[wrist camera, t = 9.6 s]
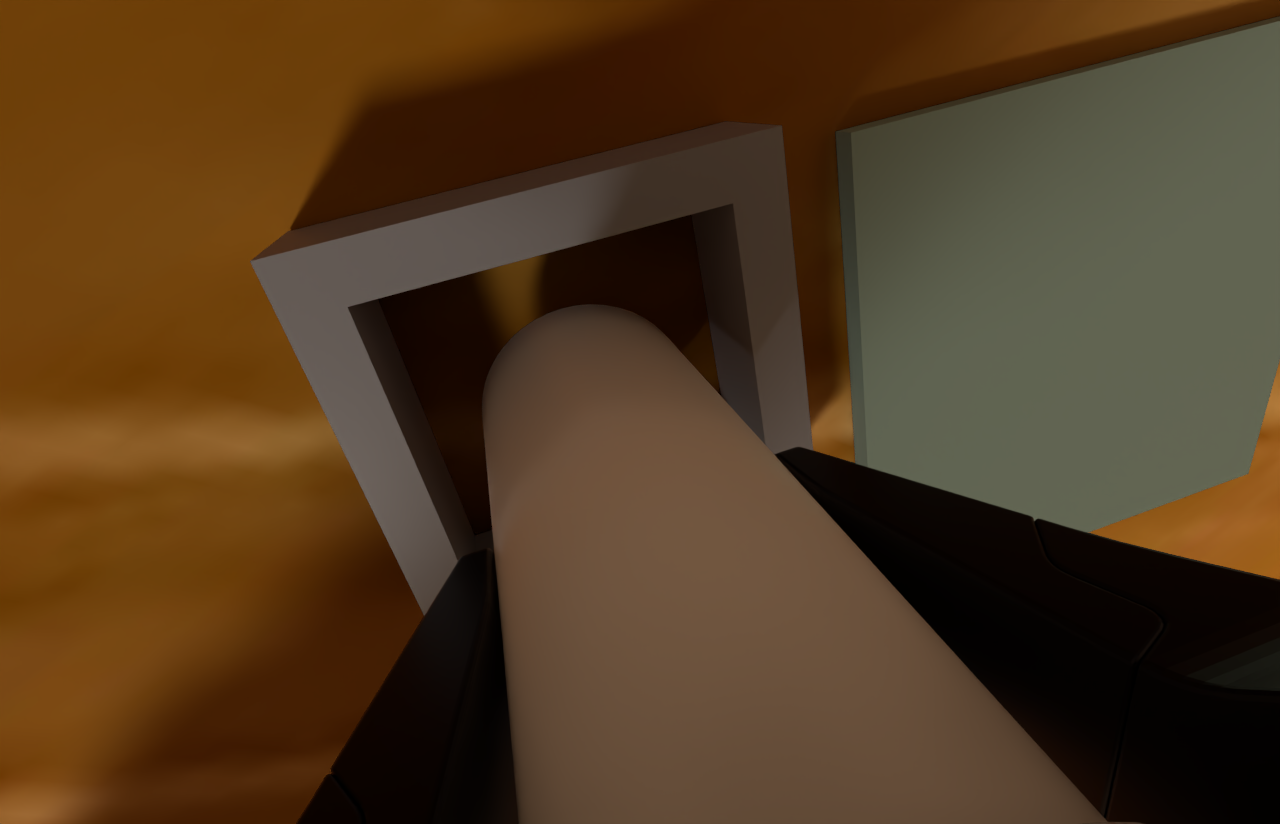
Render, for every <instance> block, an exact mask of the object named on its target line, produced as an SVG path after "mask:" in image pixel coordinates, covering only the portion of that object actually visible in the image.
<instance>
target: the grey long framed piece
mask: <svg viewBox="0 0 1280 824" xmlns="http://www.w3.org/2000/svg"><path fill="white" fill-rule="evenodd" d="M687 215H691V216H692V222H693V228H694V234H695V240H696V246H697V253H698V259H699V265H700V271H701V277H702V283H703V289H704V295H705V301H706V307H707V313H708V319H709V325H710V331H711V337H712V343H713V349H714V355H715V361H716V368H717V374H718V380H719V386H720V392H721V397H722V398H723V399H724V400H725V401H726V402H727V403H728V404H729V406H730V407H731V408H732V409H733V410H734V411H735V412H736V413H737V414H738V415H739V417H740V418H741V419H742V420H743V421H744V422H745V423H746V424H747V425H748V426H749V428H750V429H751V430H752V431H753V432H754V433H755V434H756V435H757V436H758V437H759V439H760V440H761V441H762V442H763V443H764V444H765V445H766V446H767V447H768V448H769V450H770V451H771V452H772V453H773V454H776V453H779V452H782V451H785V450H788V449H791V448H794V447H803V448H806V449H810V450H813V445H812V435H811V424H810V414H809V404H808V393H807V383H806V372H805V362H804V351H803V341H802V330H801V320H800V309H799V299H798V288H797V278H796V267H795V257H794V247H793V236H792V226H791V215H790V205H789V194H788V184H787V173H786V163H785V152H784V142H783V131H782V125H770V124H756V123H742V122H729V121H725V122H721V123H717V124H713V125H709V126H705V127H701V128H697V129H693V130H689V131H685V132H681V133H677V134H673V135H670V136H666V137H662V138H658V139H654V140H650V141H646V142H642V143H638V144H634V145H630V146H626V147H622V148H618V149H614V150H610V151H606V152H602V153H598V154H594V155H590V156H586V157H582V158H578V159H574V160H570V161H566V162H562V163H558V164H554V165H550V166H546V167H542V168H538V169H534V170H530V171H526V172H522V173H518V174H514V175H510V176H506V177H502V178H499V179H495V180H491V181H487V182H483V183H479V184H475V185H471V186H467V187H463V188H459V189H455V190H451V191H447V192H443V193H439V194H435V195H431V196H427V197H423V198H419V199H415V200H411V201H407V202H403V203H399V204H395V205H391V206H387V207H383V208H379V209H375V210H371V211H367V212H363V213H359V214H355V215H351V216H347V217H343V218H339V219H335V220H331V221H328V222H324V223H320V224H316V225H312V226H308V227H304V228H300V229H296V230H292V231H288V232H287V233H285V234H284V235H283V236H282V237H280V238H279V239H278V240H276V241H275V242H274V243H273V244H271V245H270V246H269V247H268V248H266V249H265V250H264V251H262V252H261V253H260V254H259V255H257V256H256V257H255V258H254V259H252V260H251V261H250V262H251V264H252V266H253V268H254V270H255V272H256V274H257V276H258V278H259V280H260V282H261V284H262V286H263V288H264V290H265V293H266V295H267V297H268V299H269V301H270V303H271V305H272V307H273V309H274V311H275V313H276V315H277V317H278V319H279V321H280V323H281V325H282V327H283V329H284V331H285V333H286V335H287V337H288V339H289V341H290V343H291V345H292V347H293V350H294V352H295V354H296V356H297V358H298V360H299V362H300V364H301V366H302V368H303V370H304V372H305V374H306V376H307V378H308V380H309V382H310V384H311V386H312V388H313V390H314V392H315V394H316V396H317V398H318V400H319V402H320V404H321V407H322V409H323V411H324V413H325V415H326V417H327V419H328V421H329V423H330V425H331V427H332V429H333V431H334V433H335V435H336V437H337V439H338V441H339V443H340V445H341V447H342V449H343V451H344V453H345V455H346V457H347V459H348V461H349V464H350V466H351V468H352V470H353V472H354V474H355V476H356V478H357V480H358V482H359V484H360V486H361V488H362V490H363V492H364V494H365V496H366V498H367V500H368V502H369V504H370V506H371V508H372V510H373V512H374V514H375V516H376V518H377V521H378V523H379V525H380V527H381V529H382V531H383V533H384V535H385V537H386V539H387V541H388V543H389V545H390V547H391V549H392V551H393V553H394V555H395V557H396V559H397V561H398V563H399V565H400V567H401V569H402V571H403V573H404V575H405V578H406V580H407V582H408V584H409V586H410V588H411V590H412V592H413V594H414V596H415V598H416V600H417V602H418V604H419V606H420V608H421V610H422V612H423V614H424V615H425V614H426V612H427V611H428V609H429V607H430V606H431V604H432V602H433V601H434V599H435V598H436V596H437V594H438V593H439V591H440V589H441V588H442V586H443V584H444V583H445V581H446V580H447V578H448V576H449V575H450V573H451V571H452V570H453V568H454V567H455V565H456V563H457V562H458V560H459V559H460V558H461V557H462V556H464V555H466V554H469V553H473V552H476V551H479V550H482V549H485V548H490V549H491V550H492V551H493V552H494V543H493V532H492V530H490V531H487V532H484V533H481V534H478V535H474V532H473V530H472V527H471V525H470V523H469V520H468V518H467V515H466V513H465V510H464V508H463V506H462V503H461V501H460V498H459V496H458V493H457V491H456V488H455V486H454V484H453V481H452V479H451V476H450V474H449V471H448V469H447V466H446V464H445V462H444V459H443V457H442V454H441V452H440V449H439V447H438V445H437V442H436V440H435V437H434V435H433V432H432V430H431V427H430V425H429V423H428V420H427V418H426V415H425V413H424V410H423V408H422V405H421V403H420V401H419V398H418V396H417V393H416V391H415V388H414V386H413V383H412V381H411V379H410V376H409V374H408V371H407V369H406V366H405V364H404V362H403V359H402V357H401V354H400V352H399V349H398V347H397V344H396V342H395V340H394V337H393V335H392V332H391V330H390V327H389V325H388V322H387V320H386V318H385V315H384V313H383V310H382V308H381V305H380V303H379V300H378V299H379V298H383V297H387V296H390V295H394V294H398V293H401V292H405V291H409V290H413V289H416V288H420V287H424V286H427V285H431V284H435V283H439V282H442V281H446V280H450V279H453V278H457V277H461V276H465V275H468V274H472V273H476V272H479V271H483V270H487V269H491V268H494V267H498V266H502V265H505V264H509V263H513V262H517V261H520V260H524V259H528V258H531V257H535V256H539V255H543V254H546V253H550V252H554V251H557V250H561V249H565V248H569V247H572V246H576V245H580V244H583V243H587V242H591V241H595V240H598V239H602V238H606V237H609V236H613V235H617V234H621V233H624V232H628V231H632V230H635V229H639V228H643V227H647V226H650V225H654V224H658V223H661V222H665V221H669V220H673V219H676V218H680V217H684V216H687Z"/></svg>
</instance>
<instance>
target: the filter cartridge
mask: <svg viewBox="0 0 1280 824" xmlns="http://www.w3.org/2000/svg"><path fill="white" fill-rule="evenodd" d="M482 421H483V432H484V443H485V454H486V465H487V476H488V487H489V499H490V510H491V521H492V532H493V543H494V554H495V565H496V577H497V588H498V599H499V610H500V621H501V632H502V643H503V655H504V666H505V677H506V688H507V699H508V710H509V721H510V733H511V744H512V755H513V766H514V777H515V788H516V799H517V810H518V822H519V824H1142V823H1137V822H1107V821H1106V819H1105V818H1104V817H1103V816H1102V815H1101V814H1100V813H1099V812H1098V811H1097V810H1096V808H1095V807H1094V806H1093V805H1092V804H1091V803H1090V802H1089V801H1088V800H1087V798H1086V797H1085V796H1084V795H1083V794H1082V793H1081V792H1080V791H1079V790H1078V789H1077V787H1076V786H1075V785H1074V784H1073V783H1072V782H1071V781H1070V780H1069V779H1068V778H1067V776H1066V775H1065V774H1064V773H1063V772H1062V771H1061V770H1060V769H1059V768H1058V767H1057V765H1056V764H1055V763H1054V762H1053V761H1052V760H1051V759H1050V758H1049V757H1048V756H1047V754H1046V753H1045V752H1044V751H1043V750H1042V749H1041V748H1040V747H1039V746H1038V745H1037V743H1036V742H1035V741H1034V740H1033V739H1032V738H1031V737H1030V736H1029V735H1028V734H1027V732H1026V731H1025V730H1024V729H1023V728H1022V727H1021V726H1020V725H1019V724H1018V723H1017V721H1016V720H1015V719H1014V718H1013V717H1012V716H1011V715H1010V714H1009V713H1008V712H1007V710H1006V709H1005V708H1004V707H1003V706H1002V705H1001V704H1000V703H999V702H998V701H997V699H996V698H995V697H994V696H993V695H992V694H991V693H990V692H989V691H988V690H987V688H986V687H985V686H984V685H983V684H982V683H981V682H980V681H979V680H978V679H977V677H976V676H975V675H974V674H973V673H972V672H971V671H970V670H969V669H968V667H967V666H966V665H965V664H964V663H963V662H962V661H961V660H960V659H959V658H958V656H957V655H956V654H955V653H954V652H953V651H952V650H951V649H950V648H949V647H948V645H947V644H946V643H945V642H944V641H943V640H942V639H941V638H940V637H939V636H938V634H937V633H936V632H935V631H934V630H933V629H932V628H931V627H930V626H929V625H928V623H927V622H926V621H925V620H924V619H923V618H922V617H921V616H920V615H919V614H918V612H917V611H916V610H915V609H914V608H913V607H912V606H911V605H910V604H909V603H908V601H907V600H906V599H905V598H904V597H903V596H902V595H901V594H900V593H899V592H898V590H897V589H896V588H895V587H894V586H893V585H892V584H891V583H890V582H889V581H888V579H887V578H886V577H885V576H884V575H883V574H882V573H881V572H880V571H879V570H878V568H877V567H876V566H875V565H874V564H873V563H872V562H871V561H870V560H869V559H868V557H867V556H866V555H865V554H864V553H863V552H862V551H861V550H860V549H859V548H858V546H857V545H856V544H855V543H854V542H853V541H852V540H851V539H850V538H849V537H848V535H847V534H846V533H845V532H844V531H843V530H842V529H841V528H840V527H839V525H838V524H837V523H836V522H835V521H834V520H833V519H832V518H831V517H830V516H829V514H828V513H827V512H826V511H825V510H824V509H823V508H822V507H821V506H820V505H819V503H818V502H817V501H816V500H815V499H814V498H813V497H812V496H811V495H810V494H809V492H808V491H807V490H806V489H805V488H804V487H803V486H802V485H801V484H800V483H799V481H798V480H797V479H796V478H795V477H794V476H793V475H792V474H791V473H790V472H789V470H788V469H787V468H786V467H785V466H784V465H783V464H782V463H781V462H780V461H779V459H778V458H777V457H776V456H775V455H774V454H773V453H772V452H771V451H770V450H769V448H768V447H767V446H766V445H765V444H764V443H763V442H762V441H761V440H760V439H759V437H758V436H757V435H756V434H755V433H754V432H753V431H752V430H751V429H750V428H749V426H748V425H747V424H746V423H745V422H744V421H743V420H742V419H741V418H740V417H739V415H738V414H737V413H736V412H735V411H734V410H733V409H732V408H731V407H730V406H729V404H728V403H727V402H726V401H725V400H724V399H723V398H722V397H721V396H720V395H719V393H718V392H717V391H716V390H715V389H714V388H713V387H712V386H711V385H710V383H709V382H708V381H707V380H706V379H705V378H704V377H703V376H702V375H701V374H700V372H699V371H698V370H697V369H696V368H695V367H694V366H693V365H692V364H691V363H690V361H689V360H688V359H687V358H686V357H685V356H684V355H683V354H682V353H681V352H680V350H679V349H678V348H677V347H676V346H675V345H674V344H673V343H672V342H671V341H670V339H669V338H668V337H667V336H666V335H665V334H664V333H663V332H662V331H661V330H660V329H659V328H657V327H656V326H655V325H654V324H653V323H651V322H650V321H648V320H647V319H645V318H644V317H642V316H640V315H638V314H635V313H633V312H631V311H628V310H625V309H622V308H619V307H614V306H608V305H597V304H587V305H576V306H571V307H566V308H562V309H559V310H556V311H553V312H550V313H548V314H546V315H544V316H542V317H540V318H538V319H536V320H534V321H532V322H531V323H529V324H528V325H526V326H525V327H523V328H522V329H521V330H520V331H519V332H518V333H516V334H515V335H514V336H513V337H512V338H511V339H510V340H509V341H508V342H507V344H506V345H505V346H504V347H503V348H502V349H501V351H500V353H499V354H498V356H497V357H496V359H495V360H494V362H493V364H492V366H491V368H490V370H489V372H488V375H487V378H486V382H485V385H484V390H483V396H482Z"/></svg>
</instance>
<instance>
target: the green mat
mask: <svg viewBox="0 0 1280 824" xmlns="http://www.w3.org/2000/svg"><path fill="white" fill-rule="evenodd" d="M835 133H836V149H837V166H838V182H839V199H840V215H841V232H842V248H843V265H844V281H845V298H846V315H847V331H848V348H849V364H850V381H851V397H852V414H853V430H854V447H855V463H856V464H860V465H863V466H866V467H870V468H873V469H876V470H880V471H883V472H886V473H889V474H893V475H896V476H899V477H903V478H906V479H909V480H913V481H916V482H919V483H923V484H926V485H929V486H933V487H936V488H939V489H943V490H946V491H949V492H953V493H956V494H959V495H963V496H966V497H969V498H973V499H976V500H979V501H983V502H986V503H989V504H993V505H996V506H999V507H1003V508H1006V509H1009V510H1013V511H1016V512H1019V513H1023V514H1026V515H1029V516H1032V517H1033V519H1034V521H1035V520H1036V519H1038V518H1040V519H1043V520H1047V521H1050V522H1053V523H1057V524H1060V525H1063V526H1066V527H1070V528H1073V529H1077V530H1080V531H1084V532H1087V533H1088V532H1091V531H1093V530H1096V529H1099V528H1102V527H1104V526H1107V525H1110V524H1112V523H1115V522H1118V521H1121V520H1123V519H1126V518H1129V517H1131V516H1134V515H1137V514H1140V513H1142V512H1145V511H1148V510H1151V509H1153V508H1156V507H1159V506H1161V505H1164V504H1167V503H1170V502H1172V501H1175V500H1178V499H1181V498H1183V497H1186V496H1189V495H1191V494H1194V493H1197V492H1200V491H1202V490H1205V489H1208V488H1210V487H1213V486H1216V485H1219V484H1221V483H1224V482H1227V481H1230V480H1232V479H1235V478H1238V477H1240V476H1243V475H1246V474H1248V473H1249V469H1250V465H1251V462H1252V458H1253V454H1254V451H1255V447H1256V444H1257V440H1258V436H1259V433H1260V429H1261V425H1262V422H1263V418H1264V415H1265V411H1266V407H1267V404H1268V400H1269V397H1270V393H1271V389H1272V386H1273V382H1274V378H1275V375H1276V371H1277V368H1278V364H1279V360H1280V16H1278V17H1274V18H1271V19H1267V20H1263V21H1259V22H1255V23H1251V24H1248V25H1244V26H1240V27H1236V28H1232V29H1228V30H1224V31H1221V32H1217V33H1213V34H1209V35H1205V36H1201V37H1197V38H1194V39H1190V40H1186V41H1182V42H1178V43H1174V44H1171V45H1167V46H1163V47H1159V48H1155V49H1151V50H1147V51H1144V52H1140V53H1136V54H1132V55H1128V56H1124V57H1120V58H1117V59H1113V60H1109V61H1105V62H1101V63H1097V64H1093V65H1090V66H1086V67H1082V68H1078V69H1074V70H1070V71H1067V72H1063V73H1059V74H1055V75H1051V76H1047V77H1043V78H1040V79H1036V80H1032V81H1028V82H1024V83H1020V84H1016V85H1013V86H1009V87H1005V88H1001V89H997V90H993V91H990V92H986V93H982V94H978V95H974V96H970V97H966V98H963V99H959V100H955V101H951V102H947V103H943V104H939V105H936V106H932V107H928V108H924V109H920V110H916V111H912V112H909V113H905V114H901V115H897V116H893V117H889V118H886V119H882V120H878V121H874V122H870V123H866V124H862V125H859V126H855V127H851V128H847V129H843V130H839V131H835Z"/></svg>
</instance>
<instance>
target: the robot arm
mask: <svg viewBox="0 0 1280 824" xmlns="http://www.w3.org/2000/svg"><path fill="white" fill-rule="evenodd" d="M774 455H775V456H776V457H777V458H778V459H779V461H780V462H781V463H782V464H783V465H784V466H785V467H786V468H787V469H788V470H789V472H790V473H791V474H792V475H793V476H794V477H795V478H796V479H797V480H798V481H799V483H800V484H801V485H802V486H803V487H804V488H805V489H806V490H807V491H808V492H809V494H810V495H811V496H812V497H813V498H814V499H815V500H816V501H817V502H818V503H819V505H820V506H821V507H822V508H823V509H824V510H825V511H826V512H827V513H828V514H829V516H830V517H831V518H832V519H833V520H834V521H835V522H836V523H837V524H838V525H839V527H840V528H841V529H842V530H843V531H844V532H845V533H846V534H847V535H848V537H849V538H850V539H851V540H852V541H853V542H854V543H855V544H856V545H857V546H858V548H859V549H860V550H861V551H862V552H863V553H864V554H865V555H866V556H867V557H868V559H869V560H870V561H871V562H872V563H873V564H874V565H875V566H876V567H877V568H878V570H879V571H880V572H881V573H882V574H883V575H884V576H885V577H886V578H887V579H888V581H889V582H890V583H891V584H892V585H893V586H894V587H895V588H896V589H897V590H898V592H899V593H900V594H901V595H902V596H903V597H904V598H905V599H906V600H907V601H908V603H909V604H910V605H911V606H912V607H913V608H914V609H915V610H916V611H917V612H918V614H919V615H920V616H921V617H922V618H923V619H924V620H925V621H926V622H927V623H928V625H929V626H930V627H931V628H932V629H933V630H934V631H935V632H936V633H937V634H938V636H939V637H940V638H941V639H942V640H943V641H944V642H945V643H946V644H947V645H948V647H949V648H950V649H951V650H952V651H953V652H954V653H955V654H956V655H957V656H958V658H959V659H960V660H961V661H962V662H963V663H964V664H965V665H966V666H967V667H968V669H969V670H970V671H971V672H972V673H973V674H974V675H975V676H976V677H977V679H978V680H979V681H980V682H981V683H982V684H983V685H984V686H985V687H986V688H987V690H988V691H989V692H990V693H991V694H992V695H993V696H994V697H995V698H996V699H997V701H998V702H999V703H1000V704H1001V705H1002V706H1003V707H1004V708H1005V709H1006V710H1007V712H1008V713H1009V714H1010V715H1011V716H1012V717H1013V718H1014V719H1015V720H1016V721H1017V723H1018V724H1019V725H1020V726H1021V727H1022V728H1023V729H1024V730H1025V731H1026V732H1027V734H1028V735H1029V736H1030V737H1031V738H1032V739H1033V740H1034V741H1035V742H1036V743H1037V745H1038V746H1039V747H1040V748H1041V749H1042V750H1043V751H1044V752H1045V753H1046V754H1047V756H1048V757H1049V758H1050V759H1051V760H1052V761H1053V762H1054V763H1055V764H1056V765H1057V767H1058V768H1059V769H1060V770H1061V771H1062V772H1063V773H1064V774H1065V775H1066V776H1067V778H1068V779H1069V780H1070V781H1071V782H1072V783H1073V784H1074V785H1075V786H1076V787H1077V789H1078V790H1079V791H1080V792H1081V793H1082V794H1083V795H1084V796H1085V797H1086V798H1087V800H1088V801H1089V802H1090V803H1091V804H1092V805H1093V806H1094V807H1095V808H1096V810H1097V811H1098V812H1099V813H1100V814H1101V815H1102V816H1103V817H1104V818H1105V819H1106V821H1107V822H1137V823H1142V824H1280V580H1279V579H1274V578H1270V577H1266V576H1261V575H1257V574H1253V573H1249V572H1244V571H1240V570H1236V569H1231V568H1227V567H1223V566H1219V565H1214V564H1210V563H1206V562H1202V561H1197V560H1193V559H1189V558H1184V557H1180V556H1176V555H1172V554H1168V553H1164V552H1160V551H1156V550H1152V549H1148V548H1144V547H1140V546H1136V545H1131V544H1127V543H1123V542H1119V541H1116V540H1112V539H1109V538H1105V537H1102V536H1098V535H1095V534H1091V533H1087V532H1084V531H1080V530H1077V529H1073V528H1070V527H1066V526H1063V525H1060V524H1057V523H1053V522H1050V521H1047V520H1043V519H1040V518H1038V519H1036V520H1035V521H1034V519H1033V517H1032V516H1029V515H1026V514H1023V513H1019V512H1016V511H1013V510H1009V509H1006V508H1003V507H999V506H996V505H993V504H989V503H986V502H983V501H979V500H976V499H973V498H969V497H966V496H963V495H959V494H956V493H953V492H949V491H946V490H943V489H939V488H936V487H933V486H929V485H926V484H923V483H919V482H916V481H913V480H909V479H906V478H903V477H899V476H896V475H893V474H889V473H886V472H883V471H880V470H876V469H873V468H870V467H866V466H863V465H860V464H856V463H853V462H850V461H846V460H843V459H840V458H836V457H833V456H830V455H826V454H823V453H820V452H816V451H813V450H810V449H806V448H803V447H794V448H791V449H788V450H785V451H782V452H779V453H776V454H774ZM331 773H332V774H328V775H326V777H325V778H324V780H323V781H322V783H321V785H320V786H319V788H318V789H317V791H316V793H315V794H314V796H313V798H312V799H311V801H310V803H309V804H308V806H307V807H306V809H305V810H304V812H303V814H302V815H301V817H300V818H299V820H298V821H297V823H296V824H519V822H518V810H517V799H516V788H515V777H514V766H513V755H512V744H511V733H510V721H509V710H508V699H507V688H506V677H505V666H504V655H503V643H502V632H501V621H500V610H499V599H498V588H497V577H496V565H495V554H494V552H493V551H492V550H491V549H490V548H485V549H482V550H479V551H476V552H473V553H469V554H466V555H464V556H462V557H461V558H460V559H459V560H458V562H457V563H456V565H455V567H454V568H453V570H452V571H451V573H450V575H449V576H448V578H447V580H446V581H445V583H444V584H443V586H442V588H441V589H440V591H439V593H438V594H437V596H436V598H435V599H434V601H433V602H432V604H431V606H430V607H429V609H428V611H427V612H426V614H425V615H424V617H423V619H422V620H421V622H420V624H419V625H418V627H417V629H416V630H415V632H414V633H413V635H412V637H411V638H410V640H409V642H408V643H407V645H406V646H405V648H404V650H403V651H402V653H401V655H400V656H399V658H398V660H397V661H396V663H395V664H394V666H393V668H392V669H391V671H390V673H389V674H388V676H387V677H386V679H385V681H384V682H383V684H382V686H381V687H380V689H379V690H378V692H377V694H376V695H375V697H374V699H373V700H372V702H371V704H370V705H369V707H368V708H367V710H366V712H365V713H364V715H363V717H362V718H361V720H360V721H359V723H358V725H357V726H356V728H355V730H354V731H353V733H352V735H351V736H350V738H349V739H348V741H347V743H346V744H345V746H344V748H343V749H342V751H341V752H340V754H339V756H338V757H337V759H336V761H335V762H334V764H333V766H332V767H331Z"/></svg>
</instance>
